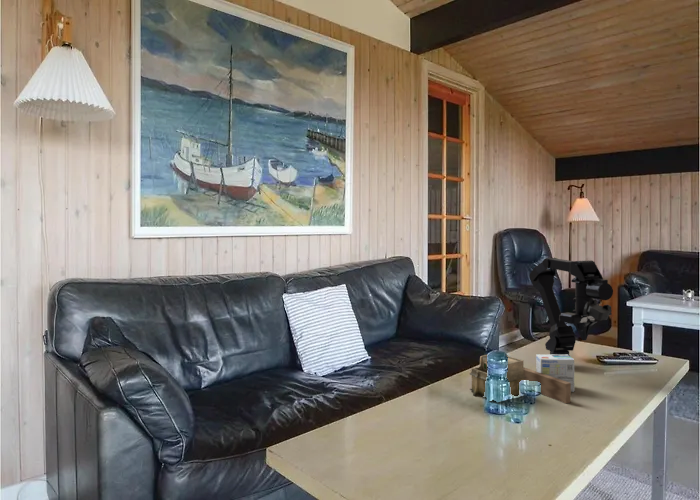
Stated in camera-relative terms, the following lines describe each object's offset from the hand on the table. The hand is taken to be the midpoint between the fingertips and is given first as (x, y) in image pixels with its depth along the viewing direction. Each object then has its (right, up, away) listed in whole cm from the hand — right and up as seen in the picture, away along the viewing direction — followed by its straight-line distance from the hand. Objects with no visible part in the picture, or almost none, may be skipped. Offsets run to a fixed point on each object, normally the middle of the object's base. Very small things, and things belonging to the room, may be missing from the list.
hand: (584, 340), depth 171 cm
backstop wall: (-21, -14, -14) cm, 29 cm away
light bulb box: (-15, -14, -11) cm, 23 cm away
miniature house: (-36, -15, -14) cm, 41 cm away
